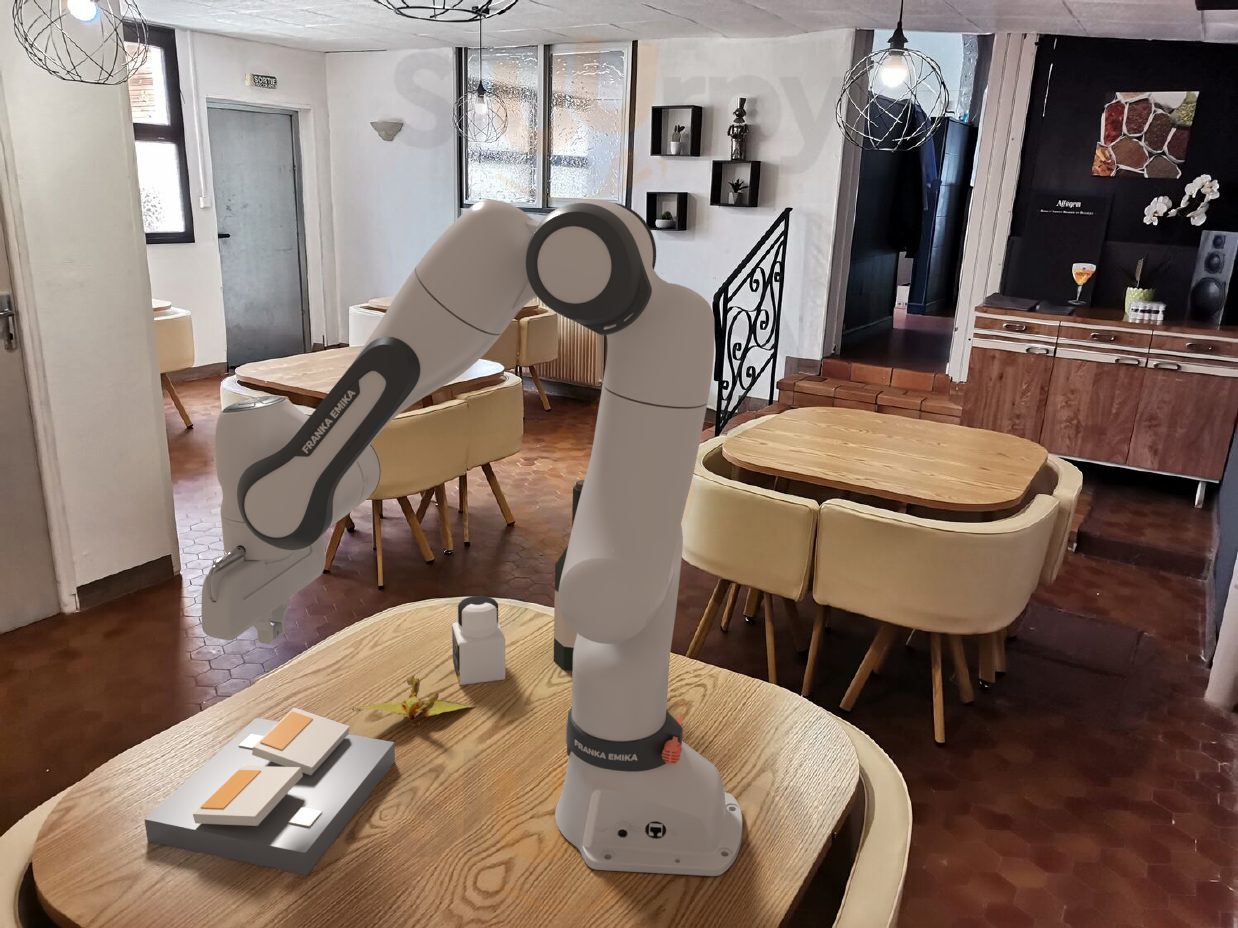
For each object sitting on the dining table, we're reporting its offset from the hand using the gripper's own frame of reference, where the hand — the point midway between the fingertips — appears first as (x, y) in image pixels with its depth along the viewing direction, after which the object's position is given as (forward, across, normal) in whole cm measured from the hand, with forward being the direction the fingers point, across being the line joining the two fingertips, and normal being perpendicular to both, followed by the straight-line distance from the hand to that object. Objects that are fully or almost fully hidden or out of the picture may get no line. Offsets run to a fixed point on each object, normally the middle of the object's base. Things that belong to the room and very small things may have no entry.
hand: (271, 637), depth 110 cm
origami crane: (+19, +15, -12) cm, 26 cm away
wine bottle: (+19, +38, -29) cm, 51 cm away
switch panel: (+18, -6, -3) cm, 20 cm away
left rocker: (+14, -11, -3) cm, 18 cm away
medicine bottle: (+19, +30, -15) cm, 38 cm away
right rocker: (+14, 0, -3) cm, 14 cm away
